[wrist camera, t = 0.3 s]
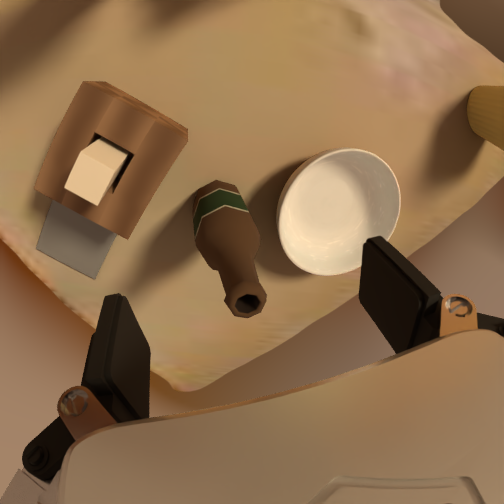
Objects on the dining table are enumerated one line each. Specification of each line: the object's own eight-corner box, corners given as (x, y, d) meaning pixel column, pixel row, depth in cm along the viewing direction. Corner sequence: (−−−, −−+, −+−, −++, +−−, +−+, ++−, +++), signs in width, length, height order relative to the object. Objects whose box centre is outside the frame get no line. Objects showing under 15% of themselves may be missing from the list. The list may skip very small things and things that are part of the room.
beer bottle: (253, 199, 48) (308, 295, 28) (220, 235, 50) (249, 347, 30) (215, 168, 44) (245, 249, 24) (181, 207, 46) (183, 313, 26)
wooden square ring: (60, 166, 38) (33, 188, 30) (105, 81, 34) (83, 81, 26) (137, 208, 45) (127, 239, 36) (187, 129, 40) (188, 140, 32)
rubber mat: (37, 247, 43) (36, 248, 43) (58, 186, 40) (57, 187, 39) (95, 277, 49) (95, 279, 48) (123, 221, 45) (122, 223, 45)
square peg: (94, 158, 36) (64, 187, 26) (109, 132, 35) (80, 151, 24) (119, 172, 38) (97, 206, 27) (134, 146, 36) (115, 170, 26)
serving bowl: (251, 246, 52) (260, 269, 46) (289, 122, 43) (306, 129, 37) (353, 262, 58) (370, 282, 53) (395, 160, 49) (419, 172, 43)
